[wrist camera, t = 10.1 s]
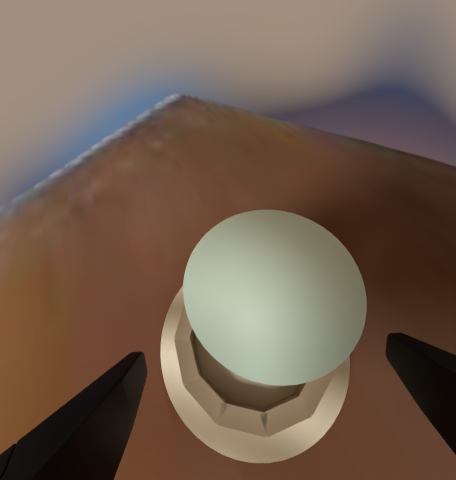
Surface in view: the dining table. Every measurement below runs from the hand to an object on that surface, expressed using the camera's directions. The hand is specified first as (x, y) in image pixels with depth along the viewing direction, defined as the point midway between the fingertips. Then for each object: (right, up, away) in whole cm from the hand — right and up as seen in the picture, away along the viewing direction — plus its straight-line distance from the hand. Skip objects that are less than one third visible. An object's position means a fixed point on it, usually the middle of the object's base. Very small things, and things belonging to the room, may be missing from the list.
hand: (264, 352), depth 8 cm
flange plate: (0, -3, +8) cm, 9 cm away
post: (0, -3, +7) cm, 8 cm away
